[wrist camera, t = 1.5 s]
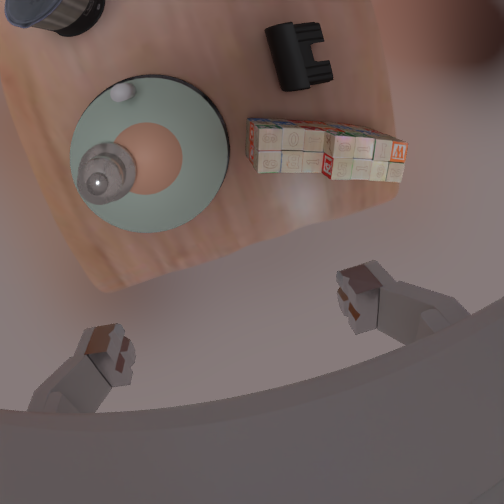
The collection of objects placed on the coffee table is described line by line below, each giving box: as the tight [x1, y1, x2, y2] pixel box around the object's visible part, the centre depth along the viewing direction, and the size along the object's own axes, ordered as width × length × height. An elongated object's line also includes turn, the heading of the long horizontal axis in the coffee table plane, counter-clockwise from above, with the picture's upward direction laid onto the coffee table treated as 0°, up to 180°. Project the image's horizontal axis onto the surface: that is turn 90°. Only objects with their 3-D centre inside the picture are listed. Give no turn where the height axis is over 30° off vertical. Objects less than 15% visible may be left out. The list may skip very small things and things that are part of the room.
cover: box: [77, 142, 137, 205], centre depth 37 cm, size 9×9×6 cm
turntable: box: [70, 78, 228, 233], centre depth 38 cm, size 24×24×6 cm
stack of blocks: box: [246, 118, 408, 182], centre depth 41 cm, size 21×6×12 cm, turn 88°
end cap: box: [265, 22, 333, 92], centre depth 35 cm, size 10×7×7 cm
